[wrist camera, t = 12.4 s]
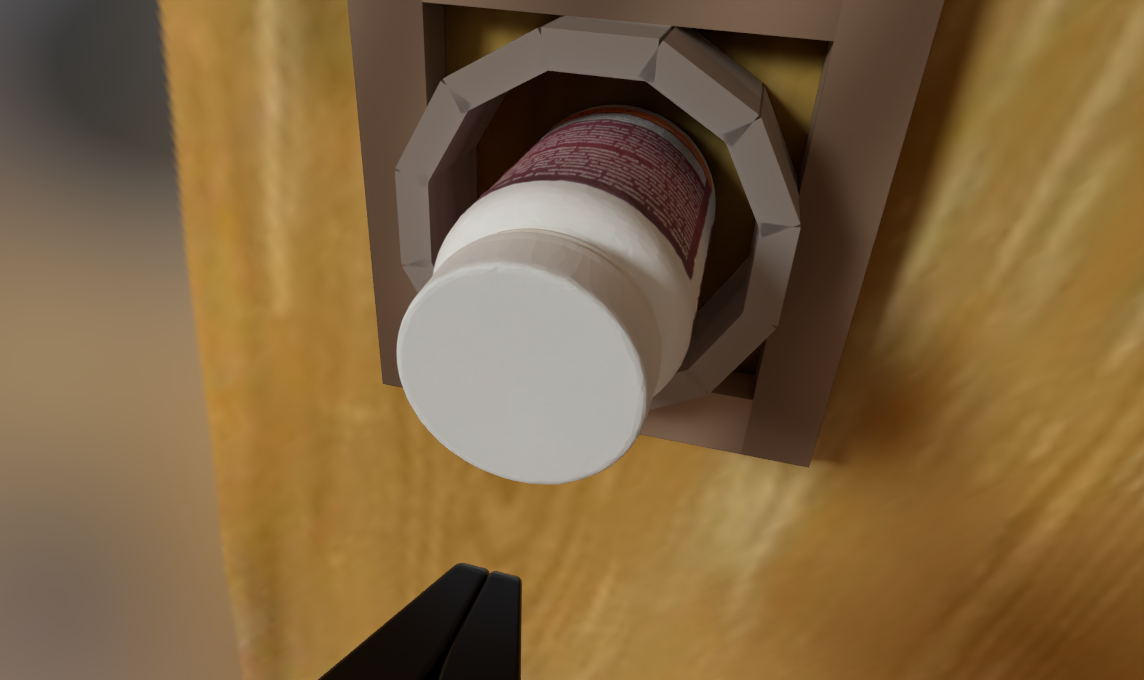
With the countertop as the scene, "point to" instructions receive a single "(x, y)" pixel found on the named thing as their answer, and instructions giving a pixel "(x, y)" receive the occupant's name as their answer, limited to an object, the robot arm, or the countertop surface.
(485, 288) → the pill bottle
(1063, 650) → the countertop surface
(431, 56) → the socket board
